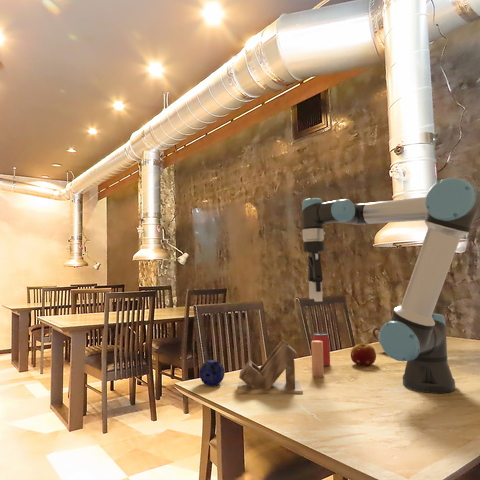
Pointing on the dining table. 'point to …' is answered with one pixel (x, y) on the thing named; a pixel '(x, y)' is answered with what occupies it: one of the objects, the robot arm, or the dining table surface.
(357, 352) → the fruit
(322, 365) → the peg
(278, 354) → the socket
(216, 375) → the ball
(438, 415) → the dining table surface
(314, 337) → the beer can
